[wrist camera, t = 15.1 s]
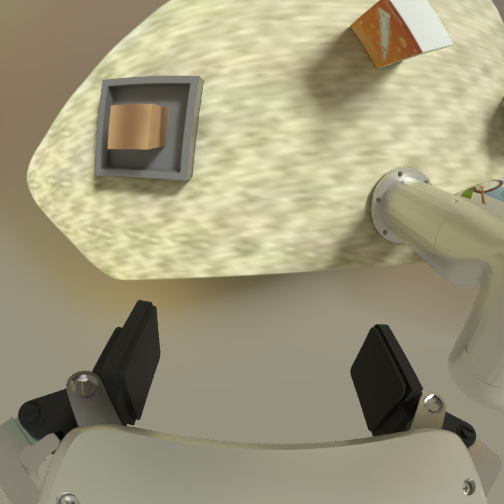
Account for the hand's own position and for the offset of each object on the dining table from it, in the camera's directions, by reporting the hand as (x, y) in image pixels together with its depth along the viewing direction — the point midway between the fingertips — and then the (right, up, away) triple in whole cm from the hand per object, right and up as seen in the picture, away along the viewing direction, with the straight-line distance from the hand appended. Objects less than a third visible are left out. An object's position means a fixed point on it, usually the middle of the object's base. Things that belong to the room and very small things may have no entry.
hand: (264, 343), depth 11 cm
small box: (+18, +35, +18) cm, 43 cm away
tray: (-15, +22, +23) cm, 35 cm away
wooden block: (-15, +21, +23) cm, 34 cm away
